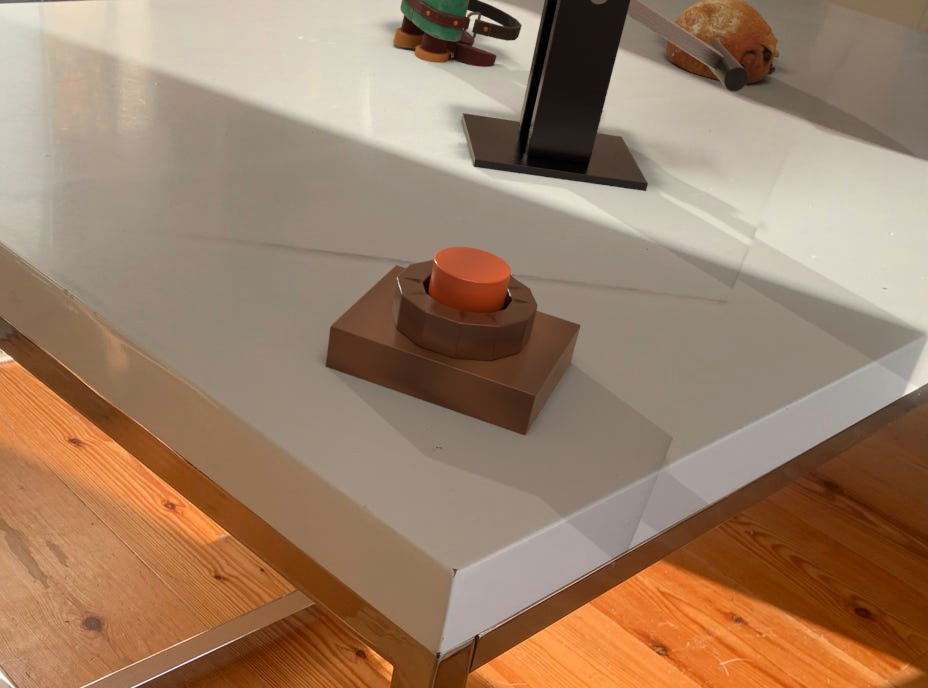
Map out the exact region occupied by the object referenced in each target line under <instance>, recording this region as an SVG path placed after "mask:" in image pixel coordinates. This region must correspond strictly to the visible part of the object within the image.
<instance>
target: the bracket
mask: <svg viewBox="0 0 928 688" xmlns="http://www.w3.org/2000/svg"><path fill="white" fill-rule="evenodd" d="M629 4H630V0H544V1H543V6H542V11H541V17H540V21H539V26H538V31H537V35H536V40H535V46H534V50H533V55H532V59H531V63H530V69H529V74H528V79H527V83H526V89H525V93H524V97H523V103H522V107H521V111H520V117H519V120H518V121H517V120H511V119H505V118H498V117H492V116H484V115H477V114H471V113H462V116H461V124H462V127H463V131H464V135H465V139H466V142H467V147H468V150H469V154H470V157H471V162H472V165H473V168H477V169H478V168H479V169H485V170H493V171H501V172H506V173H514V174H522V175H527V176H535V177H541V178H542V177H543V178H550V179H558V180H565V181H571V182H579V183H585V184H594V185H599V186H607V187H615V188H621V189H628V190H635V191H641V192H642V191H643V192H646V191H647V189H648V186H649V183H648V181H647V179H646V177H645V176H644V173H643V172H642V170H641V168H640V167H639V165H638V163H637V161H636V159H635V158H634V156H633V154H632V153H631V151H630V149H629V148H628V146H627V144H626V141H625V140H624V138H623V137H622V136H619V135H614V134H613V135H612V134H605V133H600V132H598V131H599V126H600V122H601V118H602V115H603V112H604V111H603V110H604V107H605V103H606V99H607V95H608V91H609V88H610V87H609V86H610V84H611V79H612V75H613V70H614V67H615V63H616V59H617V55H618V51H619V47H620V44H621V39H622V36H623V31H624V27H625V24H626V20H627V16H628V15H627V12H628V8H629Z"/></svg>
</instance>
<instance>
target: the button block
mask: <svg viewBox="0 0 928 688" xmlns="http://www.w3.org/2000/svg"><path fill="white" fill-rule="evenodd" d="M433 261H434V259H430V260H425V261H420V262H416V263H411V264H409V265H408V266H407V267H404V266H400V265H397V264H395V265H394V266H393V267H392V268H391V269H390V270H389V271H388V272H387V273H386V274H385V275H384V276H383V277H381V278H380V280H378V281H377V282H376V283H375V284H374V285H373V286H372V287H370V288H369V290H368V291H366V292H365V293H364V294H363V295H362V296H361V297H360V298H359V299H358V300H356V301H355V302H354V303H353V304H352V306H350V307H349V308H348V309H347V310H346V311H345V312H344V313H343V314H342V315H340V316H339V317H338V319H336V320H335V321H334V322H333V323H332V324H331V325H330V327H329V334H328V344H327V351H326V359H325V360H326V361H325V367H326V368H329V369H331V370H334V371H337V372H339V373H343V374H346V375H348V376H352V377H355V378H357V379H360V380H364V381H366V382H369V383H372V384H375V385H378V386H380V387H383V388H386V389H389V390H392V391H395V392H398V393H400V394H404V395H406V396H409V397H412V398H415V399H418V400H421V401H424V402H427V403H430V404H431V405H432V404H433V405H435V406H439V407H441V408H443V409H447V410H450V411H452V412H456V413H459V414H462V415H464V416H467V417H469V418H472V419H476V420H479V421H481V422H485V423H487V424H490V425H493V426H496V427H499V428H502V429H505V430H507V431H511V432H514V433H517V434H518V435H523V436H527V434H528V432H529V431H530V429H531V427H532V426H533V424H534V423H535V421H536V419H537V418H538V416H539V414H541V411H542V410H543V408H544V407H545V405H546V403H547V402H548V400H549V398H550V397H551V395H552V394H553V392H554V390H555V389H556V387H557V386H558V384H559V382H560V381H561V379H562V377H563V376H564V374H565V372H566V371H567V369H568V367H569V366H570V364H571V362H572V359H573V355H574V352H575V347H576V344H577V340H578V336H579V333H580V331H581V324H579V323H576V322H573V321H570V320H566V319H565V318H560V317H557V316H555V315H551V314H548V313H545V312H543V311H539V310H538V303H537V301H536V299H535V297H534V294H533V292H532V290H531V288H530V287H528V286H527V285H526V284H524V283H522V282H521V281H519V280H518V279H517V278H515V277H513V276H512V275H510V280H509V284H508V289H507V293H506V298H505V302H504V307H503V308H502V310H501V311H497V312H493V313H476V312H463V311H460V310H457V309H454V308H451V307H448V306H445V305H442V304H440V303H439V302H437V301H436V300H435V299H433V298H432V297H430V296H429V292H428V290H429V284H430V278H431V272H432V267H433Z"/></svg>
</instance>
